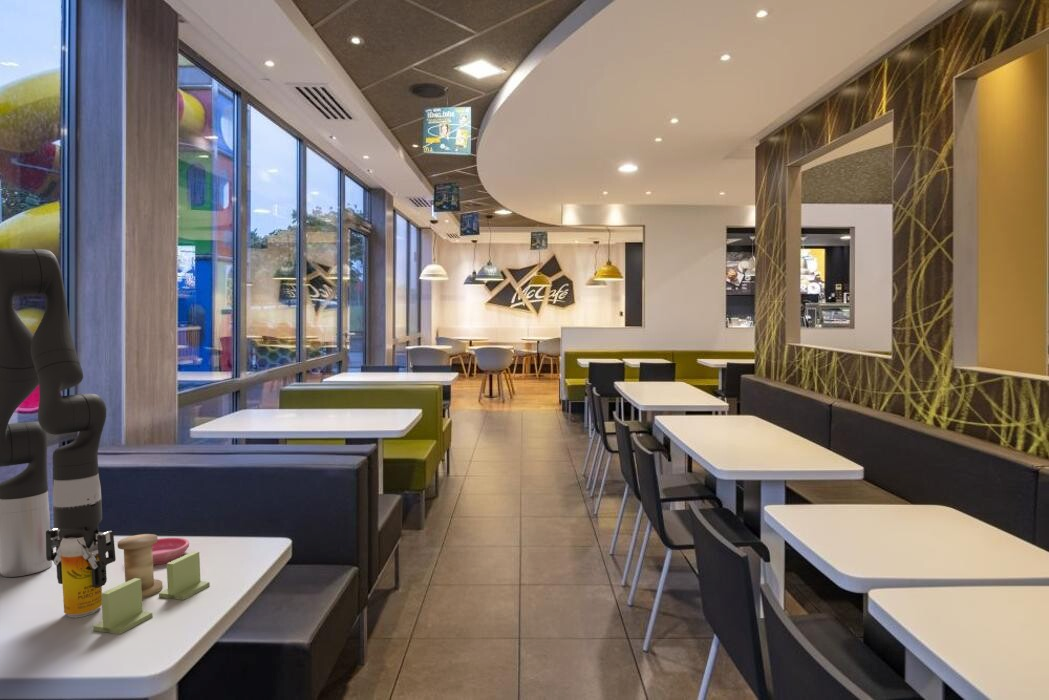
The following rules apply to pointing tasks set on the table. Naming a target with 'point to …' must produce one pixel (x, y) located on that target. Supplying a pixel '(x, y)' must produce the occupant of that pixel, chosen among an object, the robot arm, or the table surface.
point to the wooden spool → (140, 562)
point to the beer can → (78, 579)
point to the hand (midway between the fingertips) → (82, 584)
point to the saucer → (168, 549)
